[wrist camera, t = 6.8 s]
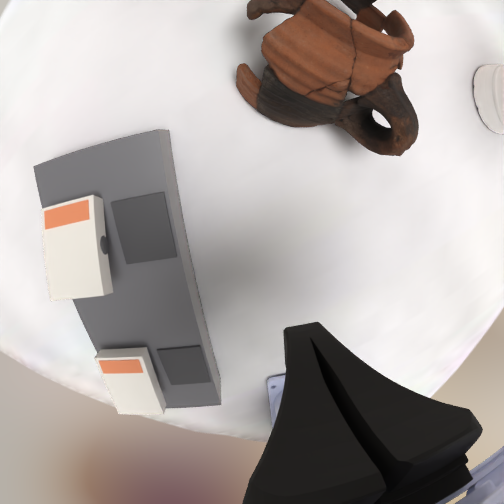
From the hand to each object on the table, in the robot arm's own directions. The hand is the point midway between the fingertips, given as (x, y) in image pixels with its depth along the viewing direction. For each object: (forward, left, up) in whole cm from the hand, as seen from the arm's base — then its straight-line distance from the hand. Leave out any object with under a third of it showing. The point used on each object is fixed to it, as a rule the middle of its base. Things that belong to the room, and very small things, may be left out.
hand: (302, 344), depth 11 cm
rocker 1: (+4, +11, -5) cm, 12 cm away
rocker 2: (-6, +11, -5) cm, 13 cm away
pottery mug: (+12, -4, -10) cm, 16 cm away
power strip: (-2, +9, -9) cm, 13 cm away
